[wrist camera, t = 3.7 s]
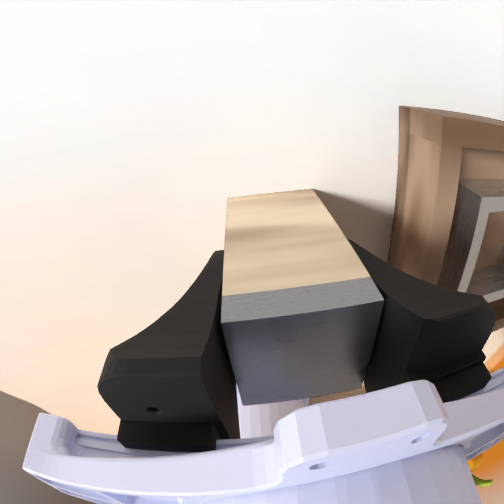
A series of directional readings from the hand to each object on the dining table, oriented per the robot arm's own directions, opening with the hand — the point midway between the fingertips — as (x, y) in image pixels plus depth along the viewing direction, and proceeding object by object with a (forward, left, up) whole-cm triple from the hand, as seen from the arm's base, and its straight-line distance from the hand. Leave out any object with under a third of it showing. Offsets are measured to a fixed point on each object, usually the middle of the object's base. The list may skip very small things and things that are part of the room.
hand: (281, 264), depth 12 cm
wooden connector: (0, 0, -3) cm, 3 cm away
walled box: (-1, -13, -3) cm, 13 cm away
